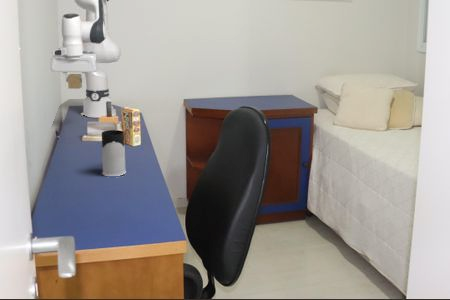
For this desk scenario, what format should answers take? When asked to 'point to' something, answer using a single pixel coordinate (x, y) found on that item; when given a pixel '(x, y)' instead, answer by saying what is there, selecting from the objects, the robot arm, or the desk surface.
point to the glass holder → (113, 153)
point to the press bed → (99, 130)
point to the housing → (74, 81)
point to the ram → (109, 115)
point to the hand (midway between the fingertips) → (75, 82)
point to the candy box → (131, 126)
